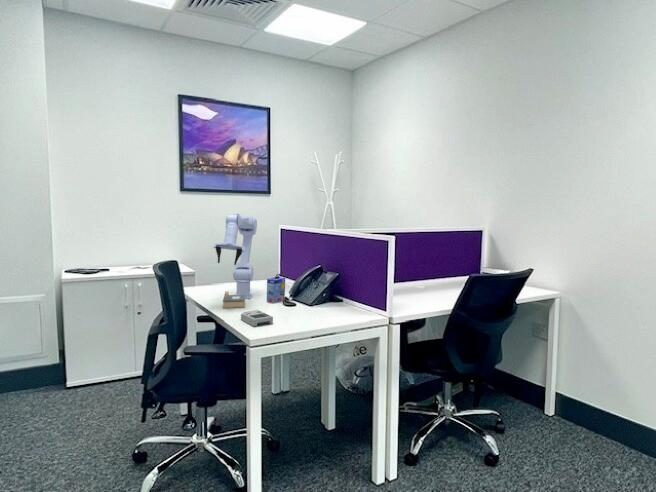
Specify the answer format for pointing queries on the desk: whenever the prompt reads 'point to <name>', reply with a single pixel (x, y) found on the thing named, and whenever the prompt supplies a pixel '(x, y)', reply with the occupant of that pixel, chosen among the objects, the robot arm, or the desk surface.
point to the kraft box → (234, 304)
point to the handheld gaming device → (256, 317)
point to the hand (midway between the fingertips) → (226, 263)
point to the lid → (233, 297)
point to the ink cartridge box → (275, 289)
